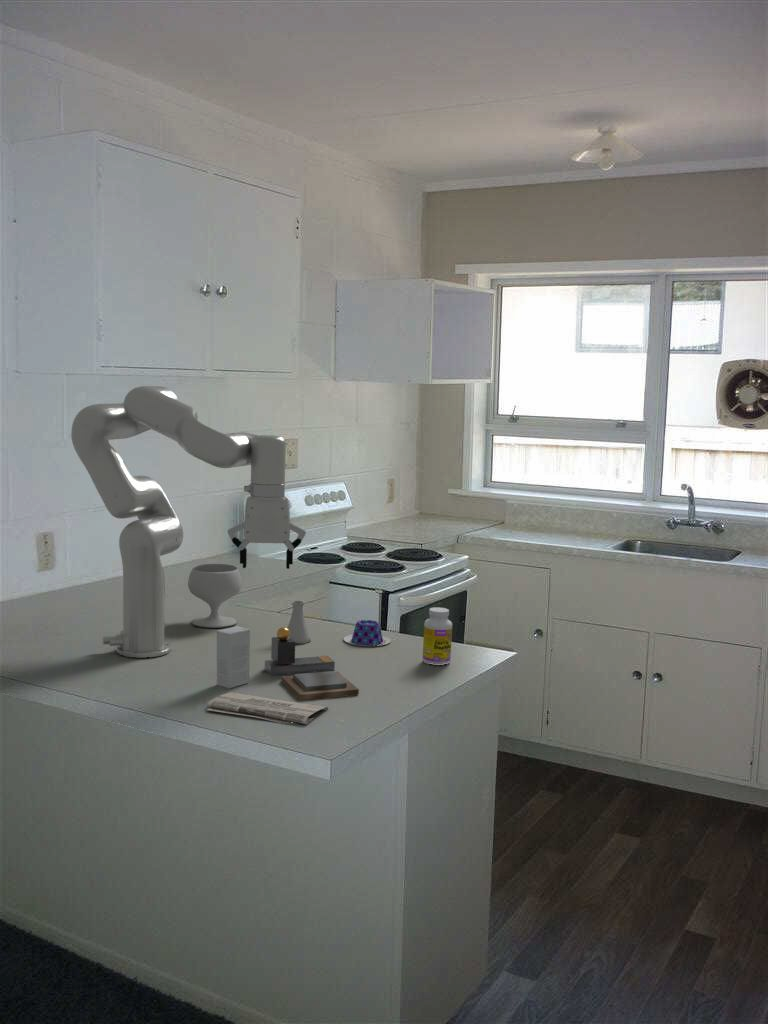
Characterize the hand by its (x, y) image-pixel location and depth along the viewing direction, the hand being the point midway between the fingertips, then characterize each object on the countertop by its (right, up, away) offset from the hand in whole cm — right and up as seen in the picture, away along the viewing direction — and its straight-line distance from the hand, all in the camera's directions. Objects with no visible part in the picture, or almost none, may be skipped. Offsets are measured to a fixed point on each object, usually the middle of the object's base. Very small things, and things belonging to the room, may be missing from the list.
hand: (266, 567), depth 226 cm
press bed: (+13, -25, -9) cm, 30 cm away
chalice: (-19, -17, +42) cm, 49 cm away
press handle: (+4, -21, +2) cm, 21 cm away
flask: (+4, -20, +28) cm, 35 cm away
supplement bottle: (+39, -24, +13) cm, 47 cm away
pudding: (+22, -21, +30) cm, 43 cm away
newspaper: (+3, -28, -25) cm, 38 cm away
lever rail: (+7, -24, +3) cm, 25 cm away
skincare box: (-6, -25, -9) cm, 27 cm away
